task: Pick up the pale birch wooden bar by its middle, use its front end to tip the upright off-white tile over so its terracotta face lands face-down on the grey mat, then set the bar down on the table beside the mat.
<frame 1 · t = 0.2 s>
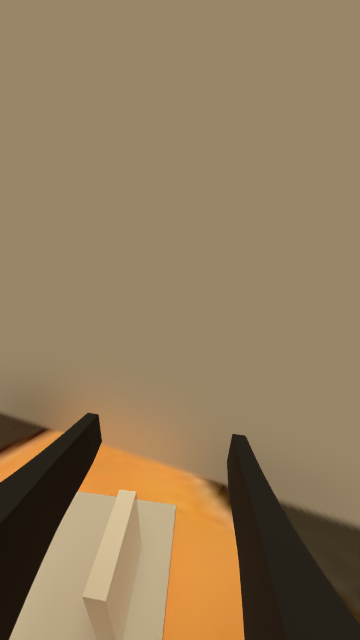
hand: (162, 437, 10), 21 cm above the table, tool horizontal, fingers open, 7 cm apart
mat: (94, 586, 19), on the table
tile: (124, 590, 18), resting on mat
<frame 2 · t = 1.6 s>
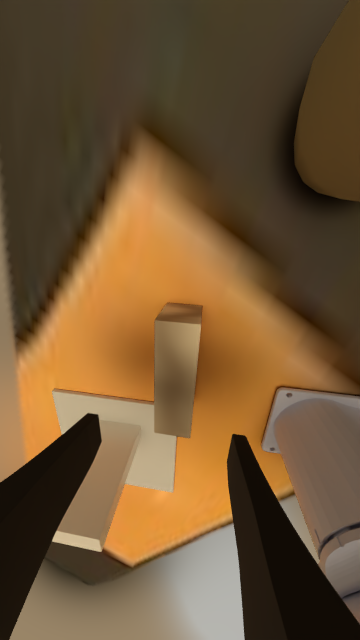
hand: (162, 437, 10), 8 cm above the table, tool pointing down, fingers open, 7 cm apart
squeeze bottle: (342, 140, 12), on the table
wooden bar: (181, 354, 18), on the table
mat: (118, 442, 23), on the table
tile: (115, 427, 22), resting on mat
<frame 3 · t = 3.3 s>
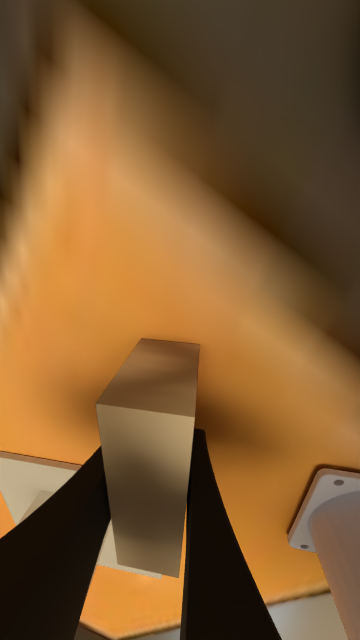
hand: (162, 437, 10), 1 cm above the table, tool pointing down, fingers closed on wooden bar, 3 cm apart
wooden bar: (167, 415, 12), on the table, touching gripper
mat: (85, 517, 17), on the table
tile: (77, 502, 16), resting on mat
when the fingers open (2 cm above the table, at t = 10.9 s): wooden bar stays where it is, on the table.
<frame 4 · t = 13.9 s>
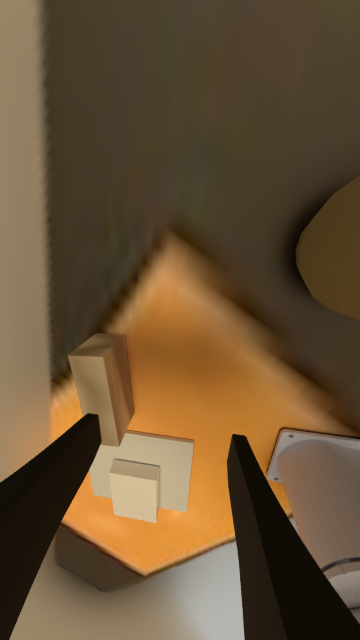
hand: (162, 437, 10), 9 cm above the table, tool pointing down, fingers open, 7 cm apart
squeeze bottle: (334, 247, 15), on the table
wooden bar: (117, 374, 21), on the table
mat: (138, 469, 26), on the table
tile: (134, 469, 24), point 1 cm above the table, tilted 90°, touching mat
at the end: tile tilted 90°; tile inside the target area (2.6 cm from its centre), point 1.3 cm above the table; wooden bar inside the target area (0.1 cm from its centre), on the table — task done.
